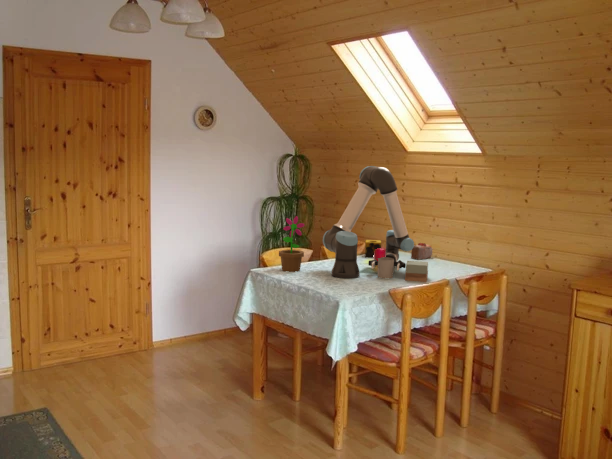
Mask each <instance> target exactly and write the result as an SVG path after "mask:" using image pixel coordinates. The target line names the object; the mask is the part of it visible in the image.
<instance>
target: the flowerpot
mask: <svg viewBox="0 0 612 459" xmlns="http://www.w3.org/2000/svg"><path fill="white" fill-rule="evenodd" d="M285 221H286V223H287V224H288V225H287V226H286V225H285V226H284V227H283V230H284V231H286V232H287V231H289V236H284V237H283V238H282V240H283V242H284V243H290V249H283V250H282V249H281V250H279V251H278V257H280V262H281V263H280V264H281V271H283V272H286V271H289V272H288V273H296V272H295V271H297V272H300V271H301V264H302V259H303V257H304V254H305V252H304V250H299V249H298V248H300V245H298V244H295V243H293V240H294V238H293V237H294V236H295V233H296V234H297V236H302V234H303V233H302V231H301V230H300V228H303V227H305V223H303V222H302V223H301V222H300V223H298V222H299V217H298V216H297V215H296V216H295V217H294V218H293V222H292V220H291V219H290V218H288V217H286V218H285ZM293 248H294V249H293Z"/></svg>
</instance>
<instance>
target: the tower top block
mask: <svg viewBox="0 0 612 459" xmlns="http://www.w3.org/2000/svg"><path fill="white" fill-rule="evenodd" d="M405 263H406V267H405V272H406V273H418V274H427V271H428V272H429V270H428V269H429V261H419V260H407V261H406V262H405Z"/></svg>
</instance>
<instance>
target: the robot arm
mask: <svg viewBox="0 0 612 459" xmlns="http://www.w3.org/2000/svg"><path fill="white" fill-rule="evenodd" d="M357 185H358V188H357V190H356V191H355V193H354V194H353V196H352V197H351V199H350V201H349V202H348V204H347V206H346V208H345V210H344V211H343V213H342V215H341V217H340V219H339V220H338V222H337V223H335V224H333V225H332V227H331V229H329V230H327V231H325V232H324V234H323V236H322V244H323V246H324V248H325V249H327V250H328V251H329V252H332V253H335V259H334V260H335V261H334V264H333V266H332V268H331V276H332V277H335V278H341V279H355V278H359V277H360V274H361V273H360V269H359V266H358V260H357V259H358V242H359V239H358V235H357V234H356V233H355V232H352V229H353V228H354V227H355V225H356V223H357V221H358V219H359V218H360V215H361V214H362V213H363V211H364V209H365V208H366V206H367V204H368V202H369V201H370V199H371V197H372V196H373V195H376V193H377V192H378V191H379V194H380V195H381V196H383V200H384V203H385V207H386V210H387V211H386V212H387V213H388V217H389V221H390V224H391V227H392V229H390V230H387V231H386V234H385V235H386V236H385V254H386V257H388V258H393V259H394V267H396V271H399V270H400V269H406V263H407V262H404V261H402V260H401V259H399V258H400V253H399V252H400V251H399V250H401V251H403V252H410V251H412V249H413V247H414V246H415V242H414V240H413V239H412V238H410V236H409V232H408V229H407V228H408V227H407V224H406V221H405V218H404V214H403V211H402V208H401V204H400V201H399V197H398V193H397V191H398V187H397V183H396V180H395V177H394V176H393V173H391V171H390V170H389V169H388V168H387V167H383V166H376V165H370V166H366V167H364V168H362V169H361V171H360V173H359V181H358V182H357ZM376 259H377V258H374V259H370V260H368V266H370V267H371V269H374V268H375V267H376V266H377V267H378V261H377V260H376Z"/></svg>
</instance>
